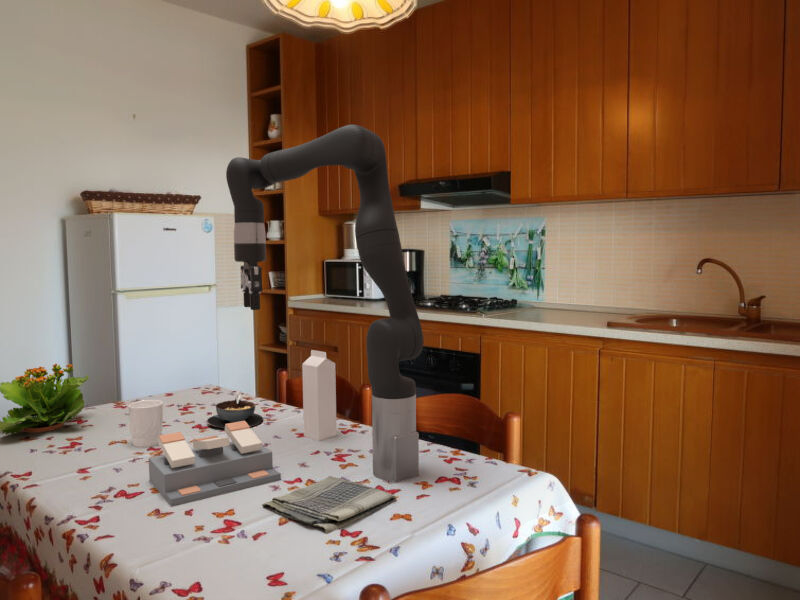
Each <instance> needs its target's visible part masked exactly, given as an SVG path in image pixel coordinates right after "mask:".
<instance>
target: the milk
mask: <svg viewBox="0 0 800 600" xmlns="http://www.w3.org/2000/svg"><path fill="white" fill-rule="evenodd" d="M301 365H302V367H301V368H302V370H301V371H302V409H303V410H302V411H303V436H304V437H305V438H309V439H312V440H315V441H323V440H325V439H328V438H331V437H335V436H337V394H336V393H337V391H336V390H337V388H336V387H337V384H336V383H337V381H336V362H334V361H332V360H331V359H329V358H327V352H325V351H322V350H321V351H320V350H315V349H314V350H313V349H311V351H310V356H309V357H308V358H307V359H306V360H305V361H304V362H303V363H302V364H301Z"/></svg>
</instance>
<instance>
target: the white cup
mask: <svg viewBox="0 0 800 600" xmlns="http://www.w3.org/2000/svg"><path fill="white" fill-rule="evenodd" d="M128 414H129V415H128V416H129V425H130V433H131V440H132V441H131V442H132V445H133V446H134V447H137V448H138V447H139V448H144V447H145V448H146V447H152V446H153V447H154V446H156V445H159V444H158V436H160V435H163V427H164V426H163V424H164V423H163V422H164V421H163V420H164V401H162V400H159V399H146V400H145V399H144V400H138V401H135V402H131V403H130V404H128Z"/></svg>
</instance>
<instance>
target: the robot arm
mask: <svg viewBox="0 0 800 600" xmlns="http://www.w3.org/2000/svg"><path fill="white" fill-rule="evenodd" d="M326 166H329V167H330V166H342V167H343V168H346V169H349V170H351V171H354V174H355V177H356V181H357V186H358V190H359V198H360V200H359V206H358V207H359V208H358V211H357V215H356V219H355V220H356V221H355V223H354V224H355V225H354V235H355V241H356V247H357V252H358V256H359V260H360V263H361V265H362V267H363V268H364V270H365V272H366V273H367V274H368V276H369V277H370V279H372V281H373V283H374V284H375V285H376V286H377V288H378V289H379V290H380V291H381V294H382V295H383V298H384V299H385V303H386V306H387V309H388V313H389V317H388V318H380V319H376V320H374V321H373V322H371V323H370V325H369V327H368V329H367V334H366V345H365V346H366V357H367V358H366V359H367V373H368V374H367V375H368V380H369V384H370V388H371V422H372V423H371V426H372V429H371V430H372V431H371V434H372V435H371V436H372V475H373V477H374V478H377V479H379V480H383V481H386V482H393V483H394V484H395V483H399V482H402V481H407V480H410V479H414V478H417V477H419V476H420V456H419V455H420V451H419V447H420V446H419V442H420V441H419V440H420V439H419V438H420V437H419V435H420V434H419V432H418V431H417V416H416V415H417V410H416V409H417V391H416V389H417V387H416V385H417V384H416V381H415V380H414V379H413V378H411V377H407V376H404V375H402V374H401V372H400V367H399V363H400V362H405V361H409V360H414V359H416V358H418V357H419V356H420V354H421V353H422V351H423V347H424V333H423V327H422V323H421V320H420V318H419V313H418V312H417V307H416V305H415V301H414V297H413V294H412V290H411V286H410V283H409V279H408V274H407V270H406V266H405V262H404V255H403V249H402V245H401V243H402V242H401V238H400V234H399V233H400V232H399V229H398V226H397V225H398V224H397V221H396V216H395V210H394V206H393V200H392V196H391V191H390V184H389V183H390V182H389V175H388V173H389V172H388V164H387V153H386V148H385V144H384V142H383V140H382V138H381V137H380V135H378V134H376V133H375V131H371V130H370V129H367V128H366V127H363V126H362V125H357V124H347V125H344V126H342V127H338V128H336V129H334V130H331V131H330V132H328V133H326V134H324V135H321V136H320V137H317V138H315V139H312V140H311V141H308V142H305V143H302V144H299V145H296V146H292V147H288V148H283V149H279V150H276V151H272V152H269V153H266V154H265V155H263V156H262V158H261V159H252V158H247V157H246V158H245V157H240V156H238V157H237V156H236V157H235V158H234V157H233V158H232V159H231V160H230V161H229V163H228V164H227V167H226V172H225V173H226V175H225V178H226V182H227V186H228V187H227V188H228V190H229V193H230V197H231V200H232V203H233V207H234V209H233V211H234V213H233V214H234V215H233V216H234V229H233V248H234V249H233V252H234V253H233V255H234V261H235V262H236V263H240V262H241V263H243V265H240V289H241V292H242V293H243V307H244V308H249V309H250V310H251V311H259V310H260V309H261V296H260V295H261V292H263V278H262V277H263V275H262V274H263V273H262V270H263V268H262V266H259V262H261V263H262V262H266V260H267V244H266V243H267V240H266V235H267V233H266V227H265V207H264V202H263V201H262V200H261V199H259V198H257V197H255V195H254V193H253V190H261V189H266V188H268V187H270V186H273V185H275V184H278V183H282V182H287V181H291V180H296V179H298V178H299V179H300V178H302V177H303V176H306V175H307V174H308V173H310V172H311V171H312V170H315V169H317V168H321V167H326Z"/></svg>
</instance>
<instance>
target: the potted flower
mask: <svg viewBox="0 0 800 600" xmlns="http://www.w3.org/2000/svg"><path fill="white" fill-rule="evenodd" d="M51 371H52V372H53V373H48V369H46V368H45V367H44V366H39V367H34V368H27V369H26V370H24V371H23V372H24V375H19V376H15V377H14V379H13V380H11V382H9V381H6V382H4V381H2V382H0V394H3V395H2V397H3V398H4V399H6V400H7V401H11V402H13V403H15V404H16V405H18V406H20V407H12V408H10V410H7V415H6V416H2V421H1V420H0V433H2V434H4V433H5V435H9V434H10V435H15V434H19V432H20V431H23V432H25V433H28V434H29V433H35V434H36V433H44V432H49V431H55V430H58V429H60V428H62V427H63V426H64V424H65V422H68V421H71V420H72V419H73V418H74V417H76V416H77V415H79V414H80V413H81V412H83V409H84V408H85V403H86V402H85V400H84V399H83V398H84V394H83V393H82V391H81V389H80V388H79V387H80V386H82V385H84V383H86V382H87V381H88V380H89V379H90V377H89V375H88V374H85V375H84V377H80V376H78V377H75V376H71V377H70V375H71V372H73V371H74V365H73V364H69V363H68V364H66V365H65V368H64V367H63V368H62V366H61V365H60V364H57V363H55V364H53V365H52V368H51ZM65 372H66V373H67V374H68V377H67V378H63V377H65Z"/></svg>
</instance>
